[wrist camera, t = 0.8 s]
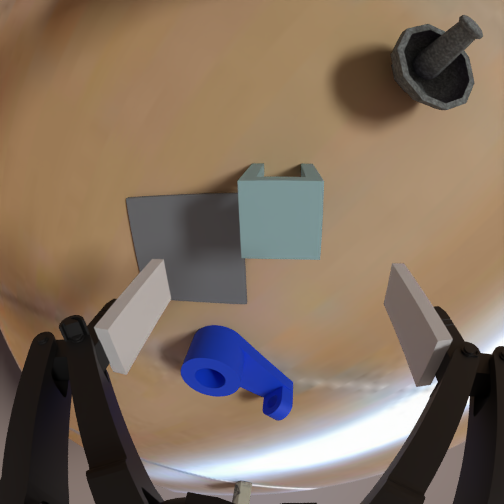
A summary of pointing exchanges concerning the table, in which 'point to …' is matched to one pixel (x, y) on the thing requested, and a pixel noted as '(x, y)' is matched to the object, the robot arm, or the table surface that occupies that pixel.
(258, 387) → the bracket
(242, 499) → the grey stone block
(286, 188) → the slotted teal block
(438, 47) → the mortar and pestle
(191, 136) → the table surface
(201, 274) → the mat
